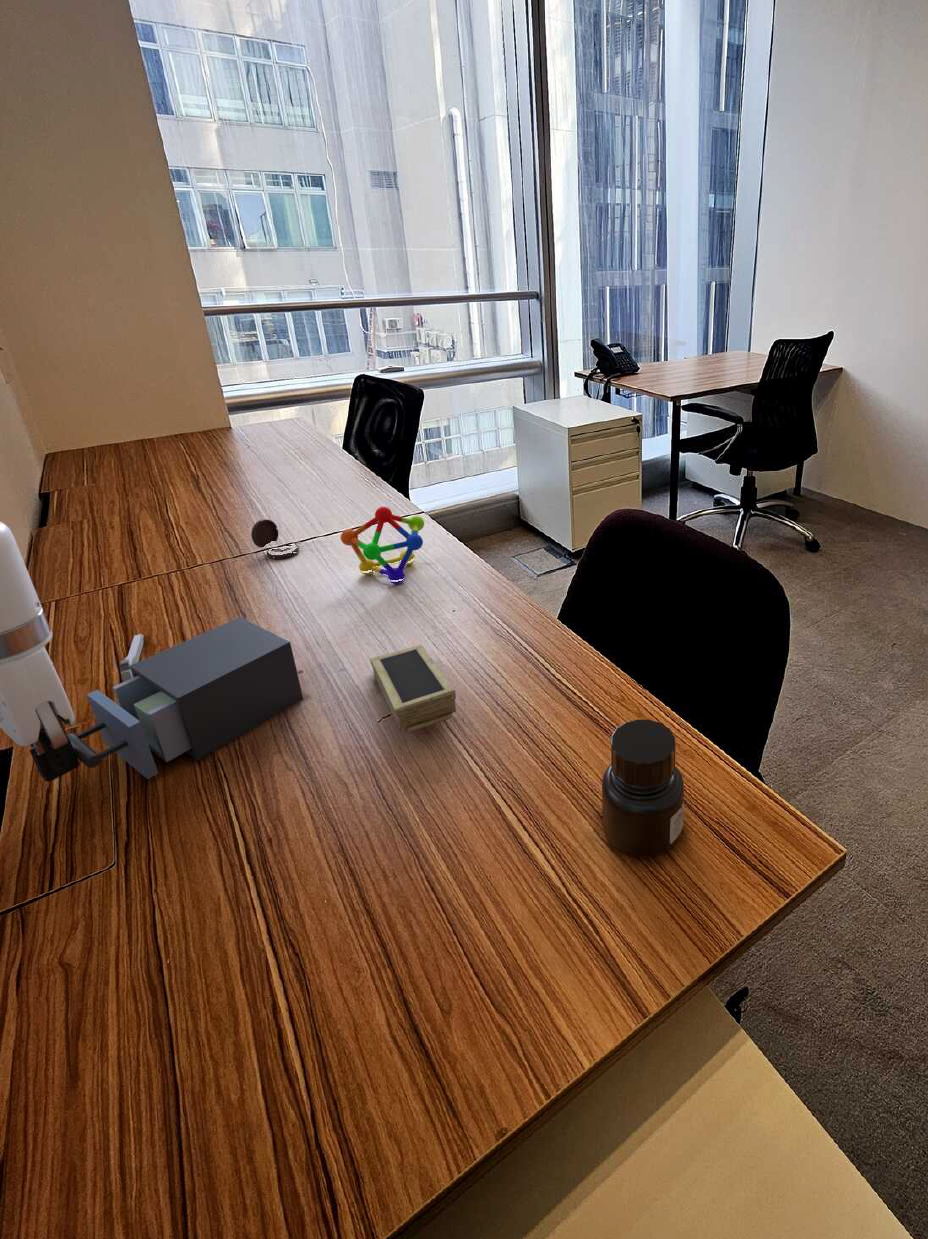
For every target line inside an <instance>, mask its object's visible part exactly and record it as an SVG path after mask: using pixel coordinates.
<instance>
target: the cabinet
mask: <svg viewBox="0 0 928 1239" xmlns="http://www.w3.org/2000/svg"><path fill="white" fill-rule="evenodd" d="M296 665H297V664H296V660H295V656H294V653H293V648H292V643H291V641H289V640H288V639H285V638H283V637H282V636H279V635H277V634H276V633H273V632H272V631H270V630H268V629H265V628H263V627H261V626H260V625H257V624H255V623H254V622H251V621H249V620H247V619H245V618H243V617H242V616H239V617H236V618H235V619H231V620H229V621H227V622H226V623H223V624H221V625H218V626H216V627H213V628H212V629H209V630H207V631H205V632H203V633H200V634H198V635H195V636H193V637H191V638H189V639H187V640H184V641H183V642H179V643H178V644H176V645H173V646H171V647H168V648H167V649H164V650H161V651H160V652H157V653H155V654H153V655H150V656H148V657H146V658H143V659H141V660H139V662H137V663H135V664H133V665H130V669H131V672H132V675H133V678H134V677H136V676H140V677H141V678H142V679H144V680H145V681H147V682H148V683H150V684H151V685H153V686H154V687H156V688H157V689H159V690H160V691H162V692H163V693H165V694H166V695H168V696H169V697H170V698H172V699H173V700H175V701H176V702H177V705H178V708H179V711H180V715H181V718H182V721H183V724H184V727H185V730H186V733H187V736H188V739H189V743H190V746H191V749H189V750H188V751H186V752H185V753H187V754H188V755H189V756H191V757H192V758H194V759H195V760H196V761H199V760H201V759H203V758H204V757H206V756H208V755H210V754H211V753H213V752H215V751H216V750H218V749H220V748H221V747H223V746H225V745H227V744H229V743H230V742H232V741H233V740H235V739H237V738H239V737H241V736H242V735H244V734H245V733H248V732H249V731H251V730H253V729H254V728H256V727H258V726H259V725H261V724H262V723H264V722H266V721H268V720H269V719H271V718H273V717H274V716H276V715H278V714H280V713H282V712H283V711H285V710H286V709H288V708H290V707H291V706H293V705H295V704H297V703H299V702H300V701H302V700H303V699H304V696H303V691H302V687H301V682H300V678H299V675H298V670H297V666H296Z"/></svg>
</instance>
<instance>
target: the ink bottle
mask: <svg viewBox="0 0 928 1239" xmlns="http://www.w3.org/2000/svg"><path fill="white" fill-rule="evenodd" d="M676 746H677V743H676V736H675V734H673V732H672V730H671V728H670V727H668V726H666V725H664V724H663V723H661V722H660V721H656V720H651V719H649V718H646V719H638V718H636V719H634V720H630V721H625V722H624V723H622V724H621V725H619V726H618V727H616V729H615V730H614V732H613V733H612V735H611V737H610V764H609V765H608V766H607V767H606V769H605V770H604V773H603V776H602V780H601V809H602V810H601V811H602V812H601V814H602V829H603V832H604V835H605V838H606V839H607V840H608V842H609V843H610V845H611V846H612V847H613V848H614V849H616V850H617V851H618V852H620V853H621V854H624V855H626V856H629V857H632V858H651V857H655V856H659V855H662V854H664V853H667V852H668V851H669V850H671V849H672V848H673V847H675V845H676V844H677V843H678V842H679V840H680V839H681V836H682V833H683V827H684V826H683V825H684V808H685V807H684V806H685V803H684V802H685V784H684V779H683V776H682V774H681V771H680V770H679V768H678V767H677V765H676V754H677V753H676V750H677V747H676Z"/></svg>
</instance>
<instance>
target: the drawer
mask: <svg viewBox="0 0 928 1239" xmlns="http://www.w3.org/2000/svg"><path fill="white" fill-rule="evenodd" d="M112 690H113V693H114V695H115V699H116V701H117V703H118V704H117V703H116V702H114V701H113V700H112V699H111V698H109V697H108V696H107V695H105V694H104V693H102V692H101V691H100V690H99V689H96V690H93V691H91V692H89V693H87V694H86V698H87V700H88V704H89V705H90V708H91V710H92V713H93V716H94V718H95V721H96V723H97V724H94V725H93V726H91V727H89V728H87V729H84V730H83V731H80V732H78V733H77V734H76V733H67V736H68V738H69V739H70V742H71V744H72V746H73V749H74V751H75V754H76V756H77V758H78V761H79V762H81V763H82V764H83V765H85V766H86V767H87V768H88V769H93V768H96V767H98V766H99V765H101V763H102V761H103V759H105V758H106V757H107V758H108V757H109V756H111V755H112V754H117V755H118V756H119V757H120V758H121V759H122V760H124V761H126V763H127V764H129V765H130V766H131V767H133V769H135V770H136V771H137V772H138V773H140V774H141V775H142V777H144V778H146V780H149V779H151V778H153V777H155V776H156V775H158V774H159V771H158V769H157V765H156V762H155V760H154V757H153V754H155V755H157V756H158V757H159V758H160V759H161V760H163V761H164V762H166V763H168V762H171V761H172V760H174V759H175V758H178V757H179V756H181V755H182V754H184V753H187V752H186V751H188V750H189V749H191V746H190V743H189V739H188V736H187V733H186V730H185V727H184V724H183V721H182V718H181V715H180V711H179V708H178V705H177V702H176V701H175V700H171V701H169V702H167V703H165V704H163V705H161V706H159V707H157V708H155V709H153V710H151V711H149V712H148V716H149V719H150V722H151V725H152V728H153V730H154V733H155V736H156V739H157V742H158V743H157V742H156V741H154V740H153V739H152V738H150V737H149V736H148V735H146V734H145V733H144V731H143V728H142V725H141V723H140V721H139V718H138V715H137V713H136V710H135V707H134V704H135V703H137V702H139V701H141V700H143V699H145V698H148V697H150V696H152V695H154V694H156V693H158V692H160V690H159V689H157V688H156V687H154V686H153V685H151V684H150V683H148V682H147V681H145V680H144V679H142V678H141V677H140V676H136V677H134V678H131V679H129V680H127V681H125V682H123V681H122V682H120V683H118V684H115V685H114V686H113V687H112ZM99 731H100V734H101V737H102V739H103V742H104V744H105V745H106V746H107V747H108V748H105V749H104V750H102V751H100V752H98V753H97V752H96V750H94V749H93V748H92V747H90V745H88V744H87V743H86V742H85V741H84V740H83V739H85V738H87V737H89V736H91V735H92V734H95V733H97V732H99ZM152 752H153V754H152Z"/></svg>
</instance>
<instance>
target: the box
mask: <svg viewBox="0 0 928 1239" xmlns="http://www.w3.org/2000/svg"><path fill="white" fill-rule="evenodd" d="M369 661H370V665H371V667H372V672H373V675H374V679H375V681H376V683H377V685H378V687H379V689H380V691H381V693H382V696H383V697H384V700H385V702H386V703H387V706H388V708H389V710H390V712H391V714H392V716H393V719H394V720H395V723H396V724H397V726H398V728H399V730H405V731H406V733H407V734H411V733H413V732H416V731H419V730H422V729H425V728H428V727H431V726H433V725H436V724H440V723H442V722H446V721H448V720H451V719H453V715H452V714H453V713H455V712H457V709H456V708H457V706H456V699H457V694H456V689H454V687H453V685H452V684H451V683H450V682H449V680H448V679H447V677H446V676H445V675H444V674H443V672H442V671H441V669H440V668H439V667H438V666H437V664H436V662H435V661H434V660H433V658H432V657H431V655H430V654H429V653H428V652H427V650H426V649H425V647H424V646H423V644H419V645H414V646H410V647H408V648H404V649H401V650H397V651H393V652H390V653H385V654H381V655H378V656H375V657H371V658H370V659H369Z"/></svg>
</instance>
